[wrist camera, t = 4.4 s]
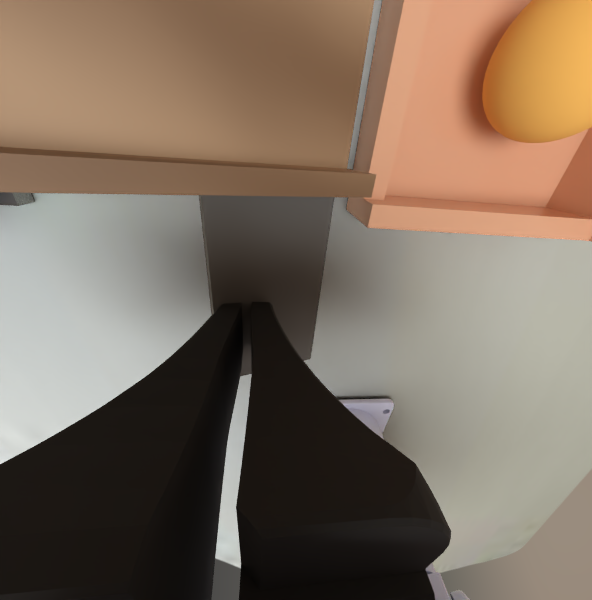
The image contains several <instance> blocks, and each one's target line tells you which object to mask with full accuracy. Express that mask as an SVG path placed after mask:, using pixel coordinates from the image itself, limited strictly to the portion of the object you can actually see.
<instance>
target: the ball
mask: <svg viewBox="0 0 592 600" xmlns="http://www.w3.org/2000/svg"><path fill="white" fill-rule="evenodd" d="M482 101H483V107H484V111H485V114H486V117H487V119H488V121H489V122H490V124H491V125H492V127H493V128H494V129H495V130H496V131H497V132H499V133H500V134H502V135H503V136H505V137H507V138H509V139H511V140H514V141H518V142H524V143H544V142H551V141H556V140H560V139H564V138H567V137H570V136H572V135H575V134H578V133H580V132H582V131H584V130H587V129H589V128H591V127H592V0H532V1H531V2H530V3H529V4H528V5H527V6H526V7H525V8H524V9H523V10H522V11H521V12H520V14H519V15H518V16H517V17H516V18H515V20H514V21H513V22H512V23H511V25H510V26H509V27H508V29H507V30H506V32H505V33H504V35H503V36H502V38H501V39H500V41H499V43H498V45H497V47H496V48H495V50H494V52H493V54H492V57H491V59H490V61H489V64H488V67H487V70H486V73H485V77H484V82H483V92H482Z"/></svg>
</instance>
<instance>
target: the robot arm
mask: <svg viewBox="0 0 592 600" xmlns="http://www.w3.org/2000/svg"><path fill="white" fill-rule="evenodd" d="M242 357H243V327H242V303H224V304H222V305H221V306H219V308H218V309H217V310H216V311H215V312H214V314H213V315H212V316H211V317H210V318H209V319H208V320H207V321H206V323H205V324H204V325H203V326H202V327H201V328H200V329H199V330H198V331H197V332H196V333H195V334H194V335H193V336H192V337H191V338H190V339H189V340H188V341H187V342H186V343H185V344H184V345H183V346H182V347H180V348H179V349H178V350H177V351H176V352H175V353H174V354H173V355H172V356H171V357H169V358H168V359H167V360H166V361H165V362H164V363H162V364H161V365H160V366H159V367H157V368H156V369H155V370H154V371H152V372H151V373H150V374H149V375H147V376H146V377H145V378H143V379H142V380H141V381H139V382H138V383H136V384H135V385H133V386H132V387H130V388H129V389H127V390H126V391H124V392H123V393H121V394H120V395H119V396H117V397H116V398H114V399H113V400H111V401H110V402H108V403H107V404H105V405H104V406H102V407H100V408H99V409H97V410H96V411H94V412H92V413H91V414H89V415H88V416H86V417H84V418H83V419H81V420H79V421H78V422H76V423H74V424H73V425H71V426H69V427H67V428H66V429H64V430H62V431H61V432H59V433H57V434H55V435H54V436H52V437H50V438H48V439H47V440H45V441H43V442H41V443H39V444H38V445H36V446H34V447H32V448H30V449H28V450H27V451H25V452H23V453H21V454H19V455H17V456H15V457H13V458H11V459H10V460H8V461H6V462H4V463H2V464H0V600H211V597H212V586H213V575H214V564H215V553H216V543H217V533H218V523H219V512H220V503H221V493H222V484H223V474H224V466H225V457H226V448H227V440H228V434H229V428H230V423H231V418H232V413H233V409H234V404H235V399H236V394H237V389H238V384H239V379H240V374H241V368H242ZM251 371H252V377H251V387H250V397H249V407H248V416H247V425H246V434H245V442H244V450H243V458H242V467H241V475H240V483H239V490H238V498H237V506H236V509H237V521H238V532H239V543H240V554H241V577H240V592H239V600H450V597H449V595H448V592H447V590H446V587H445V585H444V582H443V580H442V577H441V575H440V573H438V572H436V571H435V568H434V566H433V563H432V562H433V561H434V560H435V559H437V558H438V557H439V556H440V555H441V554H442V553H443V552H444V551H445V549H446V548H447V547H448V545H449V543H450V539H451V530H450V528H449V526H448V524H447V522H446V520H445V517H444V515H443V513H442V511H441V509H440V507H439V505H438V503H437V501H436V499H435V497H434V495H433V493H432V491H431V489H430V488H429V486H428V484H427V483H426V481H425V479H424V478H423V476H422V474H421V472H420V471H419V469H418V467H417V465H416V464H415V463H414V462H413V461H411V460H410V459H409V458H407V457H406V456H405V455H403V454H402V453H401V452H400V451H398V450H397V449H396V448H394V447H393V446H392V445H390V444H389V443H388V442H386V441H385V440H384V437H383V435H382V434H383V431H384V429H385V427H386V424H387V422H388V420H389V417H390V415H391V413H392V410H393V408H394V403H393V401H392V400H391V399H350V400H338V399H337V398H336V397H335V396H334V395H333V394H332V393H331V392H330V391H329V390H328V389H327V388H326V387H325V386H324V385H323V384H322V383H321V381H320V380H319V379H318V378H317V377H316V376H315V375H314V373H313V372H312V371H311V370H310V369H309V367H308V366H307V365H306V364H305V362H304V361H303V360H302V358H301V357H300V356H299V354H298V353H297V351H296V350H295V348H294V347H293V346H292V344H291V342H290V341H289V339H288V337H287V336H286V334H285V332H284V331H283V329H282V327H281V325H280V323H279V321H278V319H277V317H276V315H275V312H274V309H273V305H272V304H271V303H270V302H252V307H251ZM450 596H451V599H452V600H471V599H469V598H467V596H466V595H465V593H464V592H462V591H461V590H457V591H454V592H450Z"/></svg>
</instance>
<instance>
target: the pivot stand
mask: <svg viewBox="0 0 592 600" xmlns="http://www.w3.org/2000/svg"><path fill="white" fill-rule="evenodd" d="M32 202H35V201H34V199H33V197H32V194H31V193H17V192H0V205H13V206H20V205H24V204H28V203H32Z"/></svg>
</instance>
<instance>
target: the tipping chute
mask: <svg viewBox="0 0 592 600" xmlns="http://www.w3.org/2000/svg"><path fill="white" fill-rule="evenodd" d="M373 4H374V0H0V192H17V193H87V194H156V195H199V201H200V210H201V219H202V229H203V238H204V247H205V257H206V266H207V275H208V285H209V294H210V303H211V313H212V315H213V314H214V312H215V311H216V310H217V309H218V308H219V306H221V305H222V304H224V303H242V327H243V357H242V368H241V374H240V376H244V375H248V374H252V371H251V307H252V302H270V303H271V304H272V305H273V309H274V312H275V315H276V317H277V319H278V321H279V323H280V325H281V327H282V329H283V331H284V332H285V334H286V336H287V337H288V339H289V341H290V342H291V344H292V346H293V347H294V348H295V350H296V351H297V353H298V354H299V356H300V357H301V358H302V360H303V361H304V360H308V359H310V358H311V351H312V344H313V337H314V330H315V324H316V317H317V310H318V303H319V296H320V290H321V283H322V276H323V269H324V262H325V256H326V249H327V242H328V235H329V228H330V222H331V215H332V208H333V201H334V197H365V198H371V197H372V193H373V188H374V184H375V179H376V175H377V174H372V173H367V172H361V171H356V170H351V169H347V164H348V158H349V152H350V146H351V140H352V134H353V127H354V121H355V115H356V109H357V103H358V97H359V90H360V84H361V78H362V72H363V66H364V60H365V53H366V47H367V41H368V35H369V29H370V23H371V16H372V10H373Z"/></svg>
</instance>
